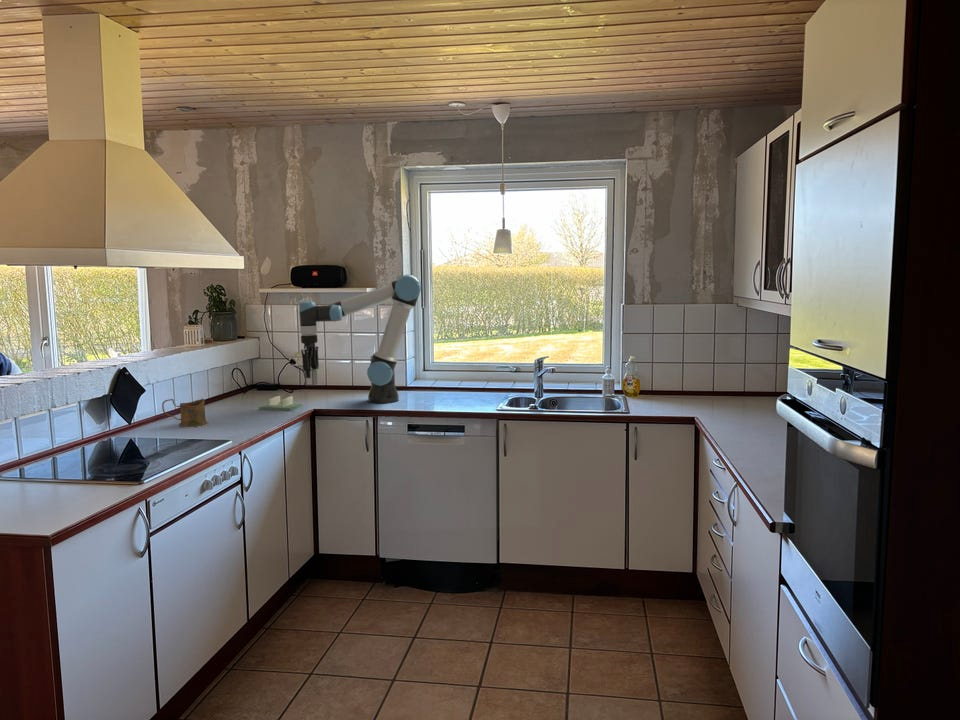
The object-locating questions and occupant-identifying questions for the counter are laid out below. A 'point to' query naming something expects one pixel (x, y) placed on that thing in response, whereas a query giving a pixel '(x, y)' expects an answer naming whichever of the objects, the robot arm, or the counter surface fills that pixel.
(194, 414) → the mug
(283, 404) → the board
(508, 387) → the counter surface
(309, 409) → the counter surface
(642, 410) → the counter surface
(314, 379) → the plug
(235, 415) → the counter surface
